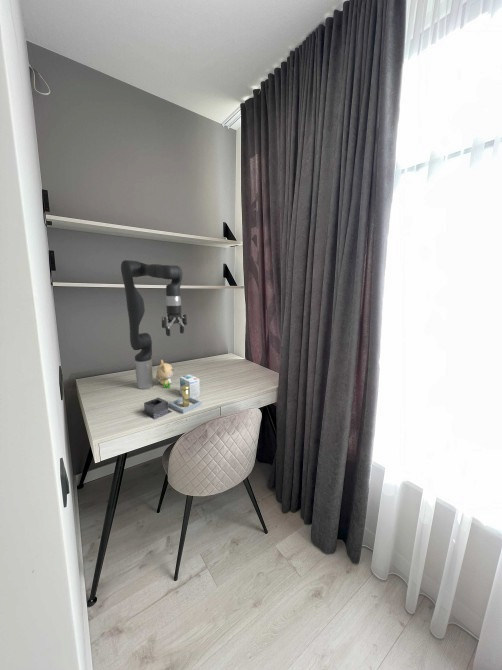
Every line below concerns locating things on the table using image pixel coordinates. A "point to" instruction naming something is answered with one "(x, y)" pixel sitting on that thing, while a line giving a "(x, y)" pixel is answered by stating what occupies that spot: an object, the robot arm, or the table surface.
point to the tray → (197, 404)
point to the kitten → (164, 374)
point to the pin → (185, 395)
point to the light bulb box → (191, 385)
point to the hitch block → (156, 408)
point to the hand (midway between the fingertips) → (175, 334)
